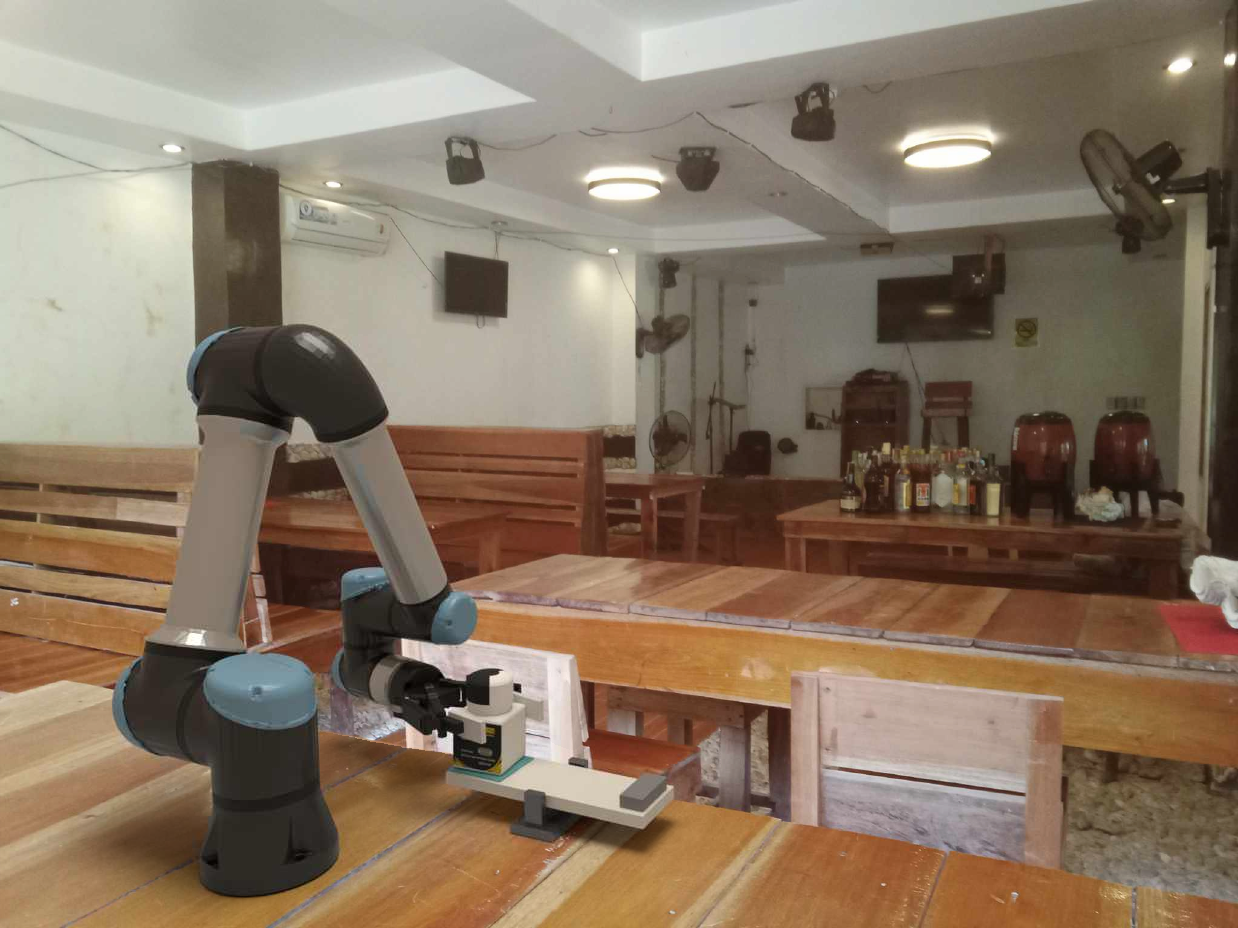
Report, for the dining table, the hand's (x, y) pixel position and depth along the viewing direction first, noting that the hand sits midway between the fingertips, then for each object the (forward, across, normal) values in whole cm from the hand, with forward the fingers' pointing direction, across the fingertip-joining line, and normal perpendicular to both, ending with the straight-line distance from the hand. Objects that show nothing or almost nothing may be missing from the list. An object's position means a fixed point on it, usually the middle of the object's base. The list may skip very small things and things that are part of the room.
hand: (513, 721), depth 121 cm
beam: (+5, -2, -8) cm, 10 cm away
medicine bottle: (-5, 0, -7) cm, 8 cm away
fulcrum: (+5, -2, -12) cm, 13 cm away
